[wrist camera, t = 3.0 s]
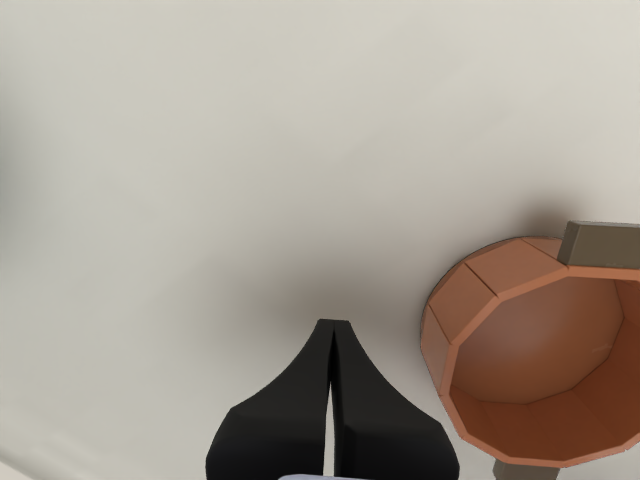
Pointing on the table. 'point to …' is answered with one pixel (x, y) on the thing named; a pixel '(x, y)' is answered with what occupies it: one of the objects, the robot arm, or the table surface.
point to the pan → (541, 348)
